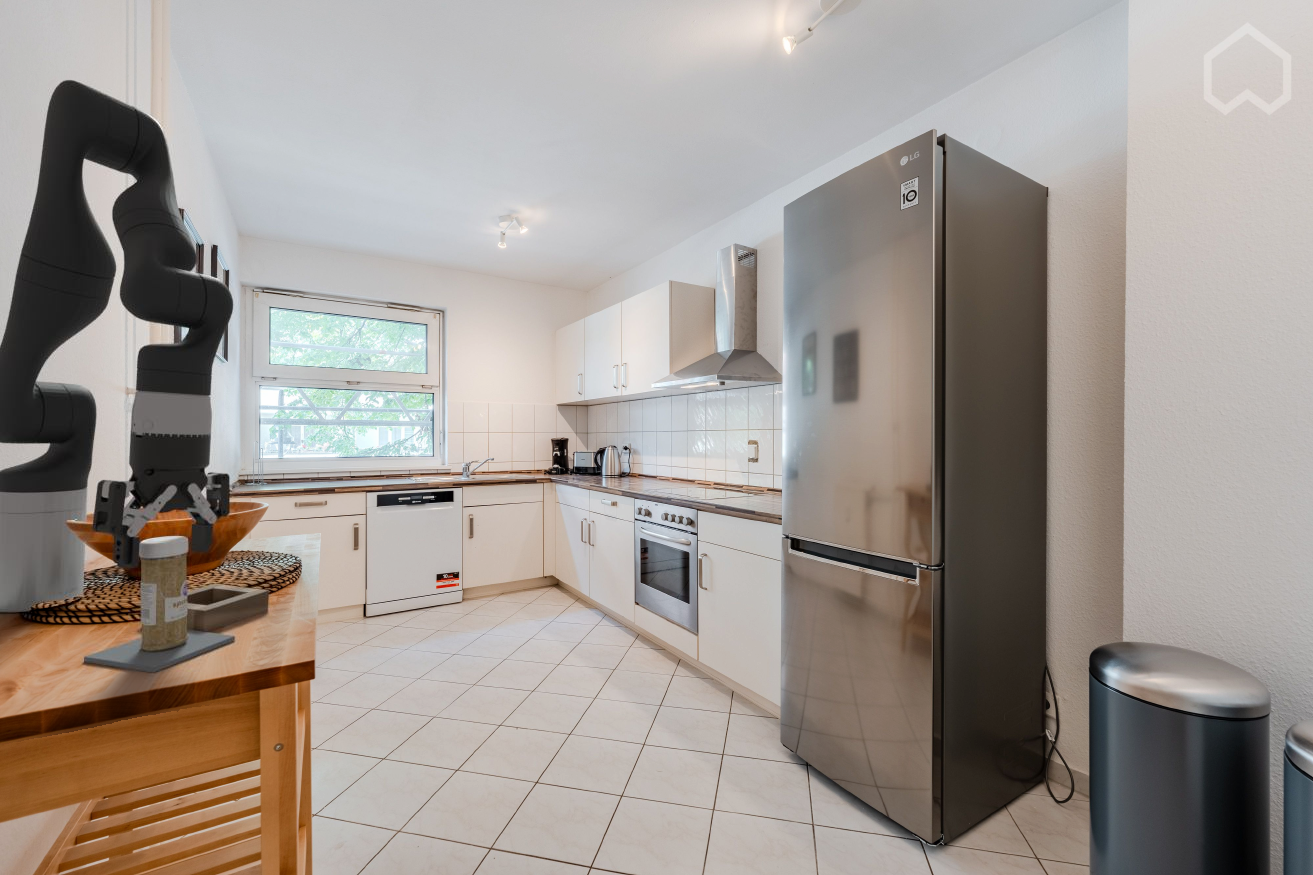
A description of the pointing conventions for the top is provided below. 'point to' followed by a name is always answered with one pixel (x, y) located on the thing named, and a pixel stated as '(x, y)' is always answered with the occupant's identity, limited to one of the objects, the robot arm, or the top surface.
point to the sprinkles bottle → (163, 592)
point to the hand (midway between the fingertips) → (165, 558)
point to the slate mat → (158, 652)
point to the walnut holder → (223, 605)
